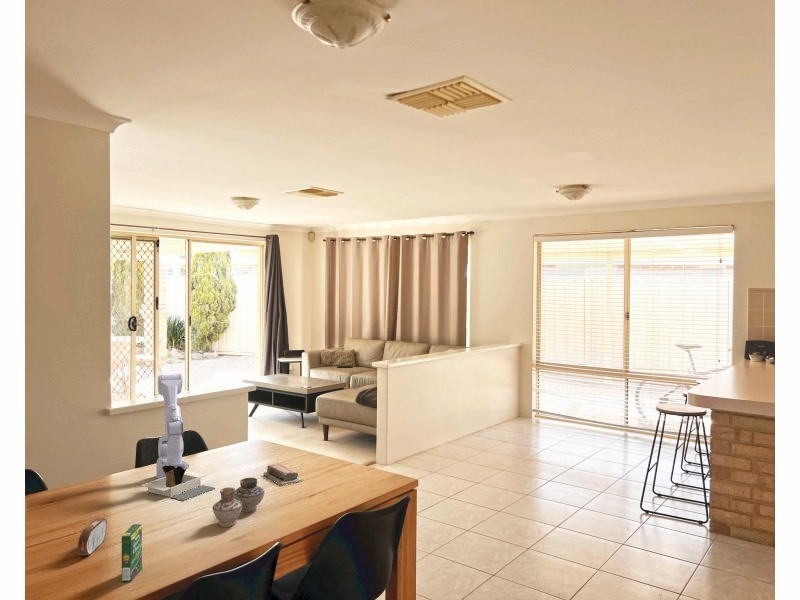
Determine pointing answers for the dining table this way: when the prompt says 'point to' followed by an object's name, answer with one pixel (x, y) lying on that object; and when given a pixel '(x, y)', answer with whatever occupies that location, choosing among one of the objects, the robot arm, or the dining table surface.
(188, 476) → the carton
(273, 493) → the dining table surface
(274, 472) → the packaged product
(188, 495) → the mat
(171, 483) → the block
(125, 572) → the coffee box
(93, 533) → the tin
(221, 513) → the pottery
